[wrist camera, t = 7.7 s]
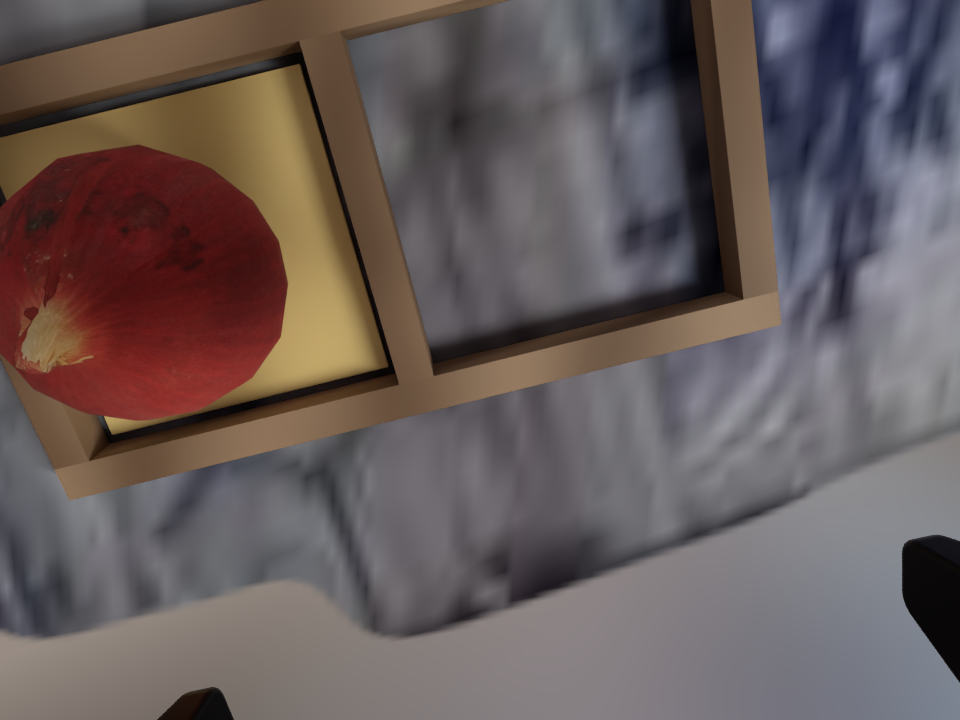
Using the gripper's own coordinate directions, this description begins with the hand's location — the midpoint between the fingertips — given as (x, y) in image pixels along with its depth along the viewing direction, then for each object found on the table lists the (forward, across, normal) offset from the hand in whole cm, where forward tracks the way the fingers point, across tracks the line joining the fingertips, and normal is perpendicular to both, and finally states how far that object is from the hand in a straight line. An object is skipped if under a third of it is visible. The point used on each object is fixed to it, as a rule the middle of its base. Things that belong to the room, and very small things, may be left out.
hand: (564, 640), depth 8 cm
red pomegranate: (+11, +7, -5) cm, 14 cm away
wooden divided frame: (+12, +2, -5) cm, 13 cm away
